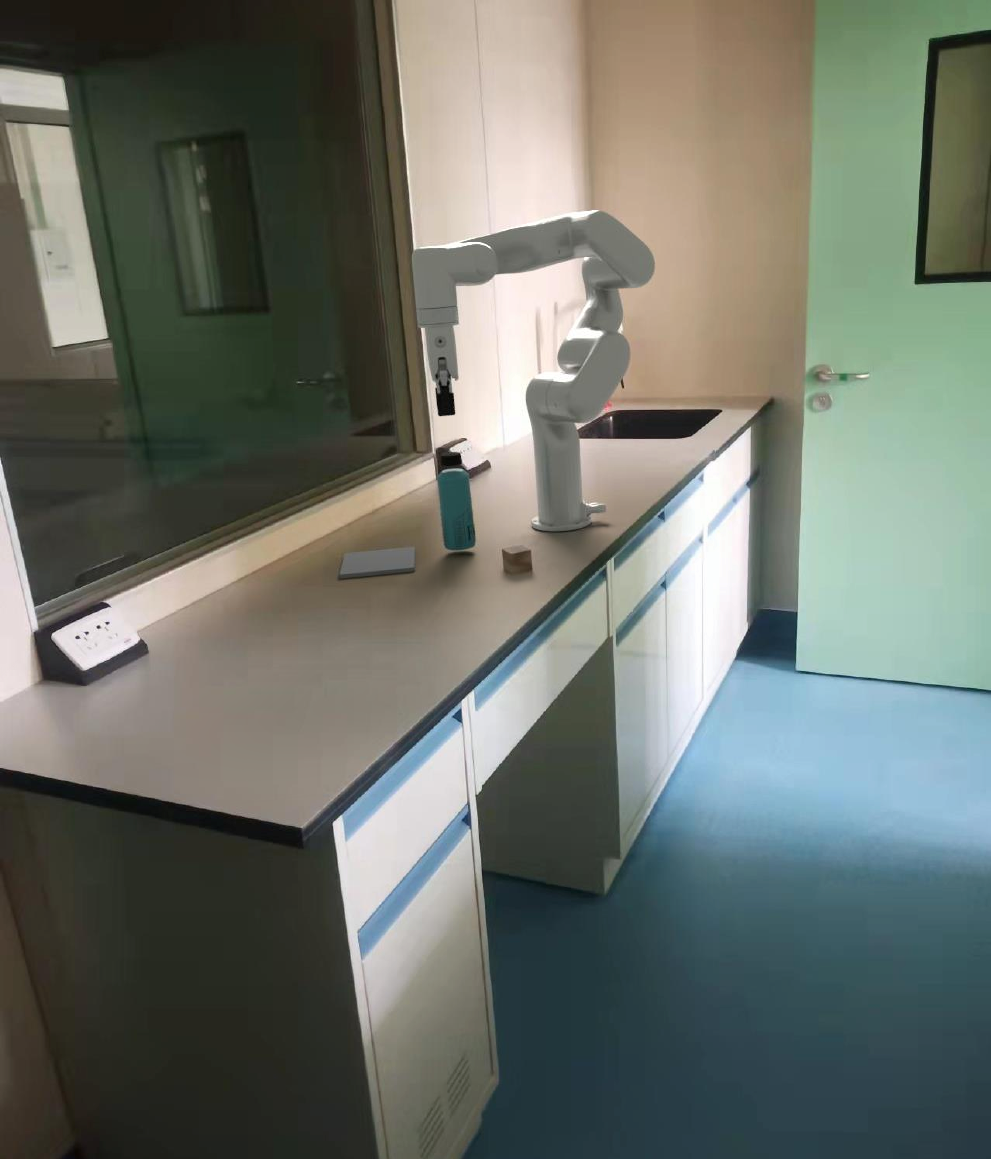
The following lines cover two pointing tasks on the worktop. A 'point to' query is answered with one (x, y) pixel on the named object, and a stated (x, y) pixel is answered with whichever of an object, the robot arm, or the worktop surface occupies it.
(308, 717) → the worktop surface
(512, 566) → the walnut block
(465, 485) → the beverage bottle
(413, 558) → the rubber mat
